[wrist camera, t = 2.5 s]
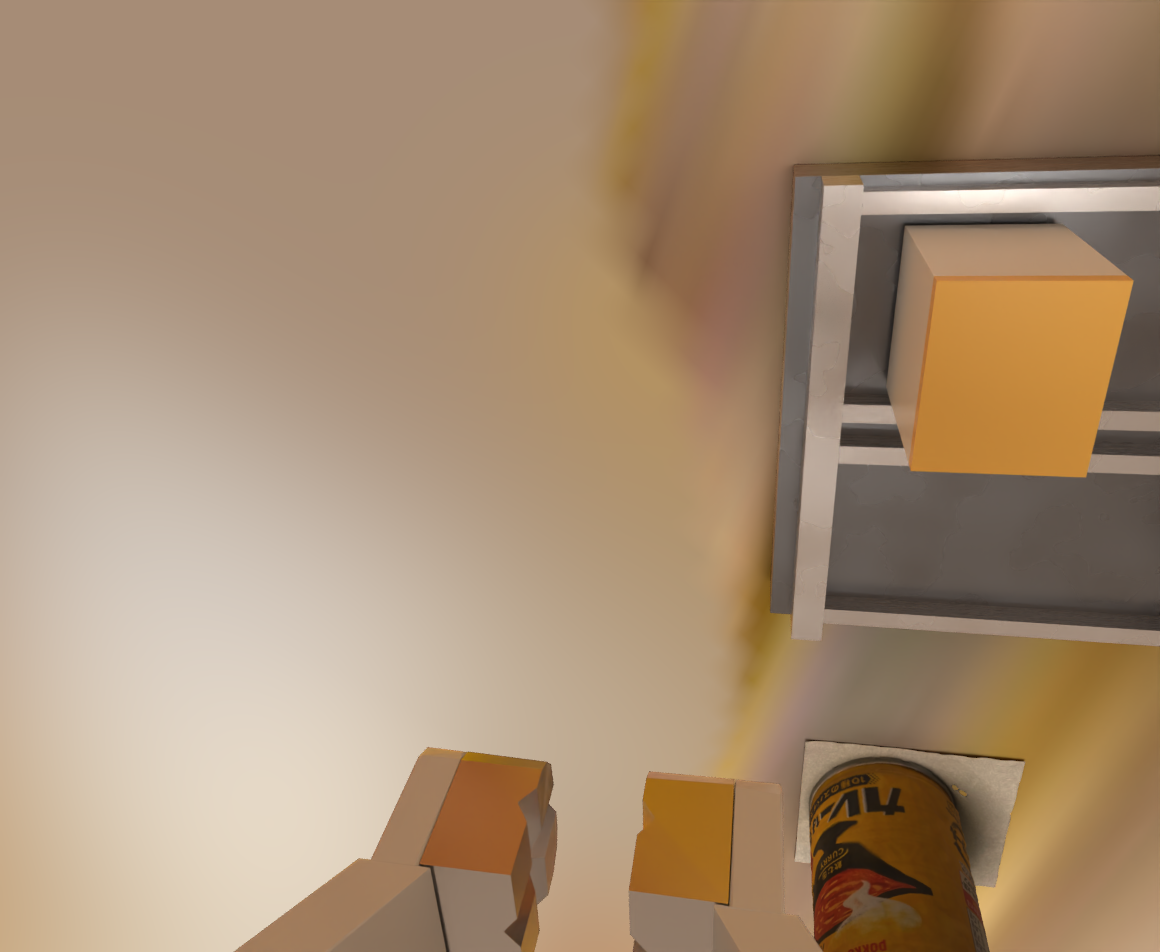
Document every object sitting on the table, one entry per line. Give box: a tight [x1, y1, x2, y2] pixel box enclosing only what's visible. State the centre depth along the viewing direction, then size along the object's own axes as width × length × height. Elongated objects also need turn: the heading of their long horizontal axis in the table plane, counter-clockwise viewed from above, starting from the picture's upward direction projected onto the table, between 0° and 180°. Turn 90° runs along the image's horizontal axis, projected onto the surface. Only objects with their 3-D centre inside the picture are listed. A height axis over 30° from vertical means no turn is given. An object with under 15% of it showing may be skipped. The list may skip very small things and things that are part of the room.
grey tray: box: [770, 155, 1160, 646], centre depth 26 cm, size 22×15×3 cm
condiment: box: [795, 741, 1025, 952], centre depth 33 cm, size 7×8×12 cm
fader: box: [886, 224, 1134, 477], centre depth 23 cm, size 4×5×5 cm
